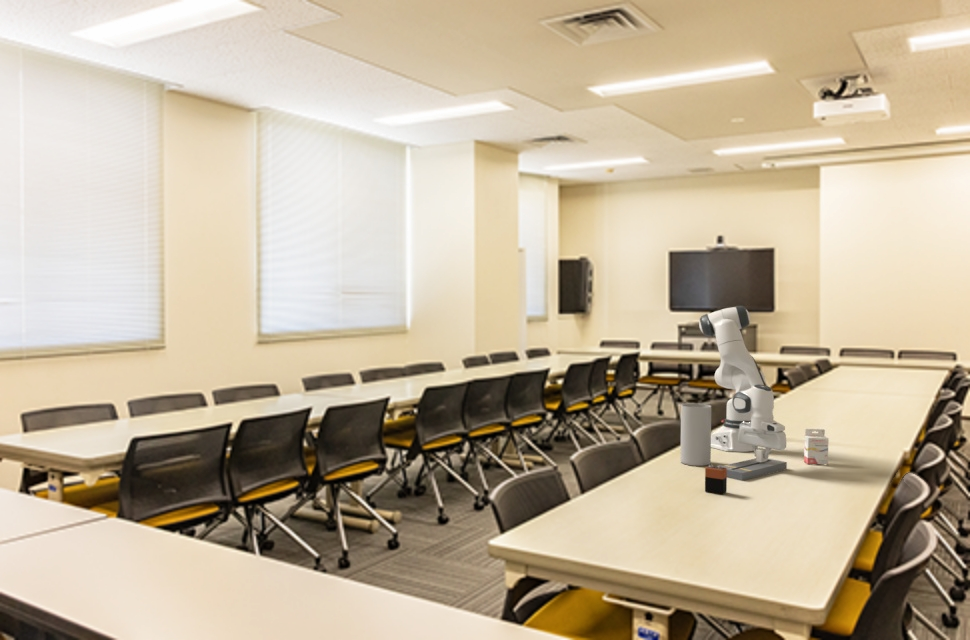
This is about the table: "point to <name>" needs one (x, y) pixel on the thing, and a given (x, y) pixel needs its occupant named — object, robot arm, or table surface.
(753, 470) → the console
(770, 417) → the robot arm
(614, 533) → the table surface
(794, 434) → the table surface
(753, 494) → the table surface
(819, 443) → the ink cartridge box
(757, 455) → the fader
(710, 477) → the battery
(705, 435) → the cylinder vase
